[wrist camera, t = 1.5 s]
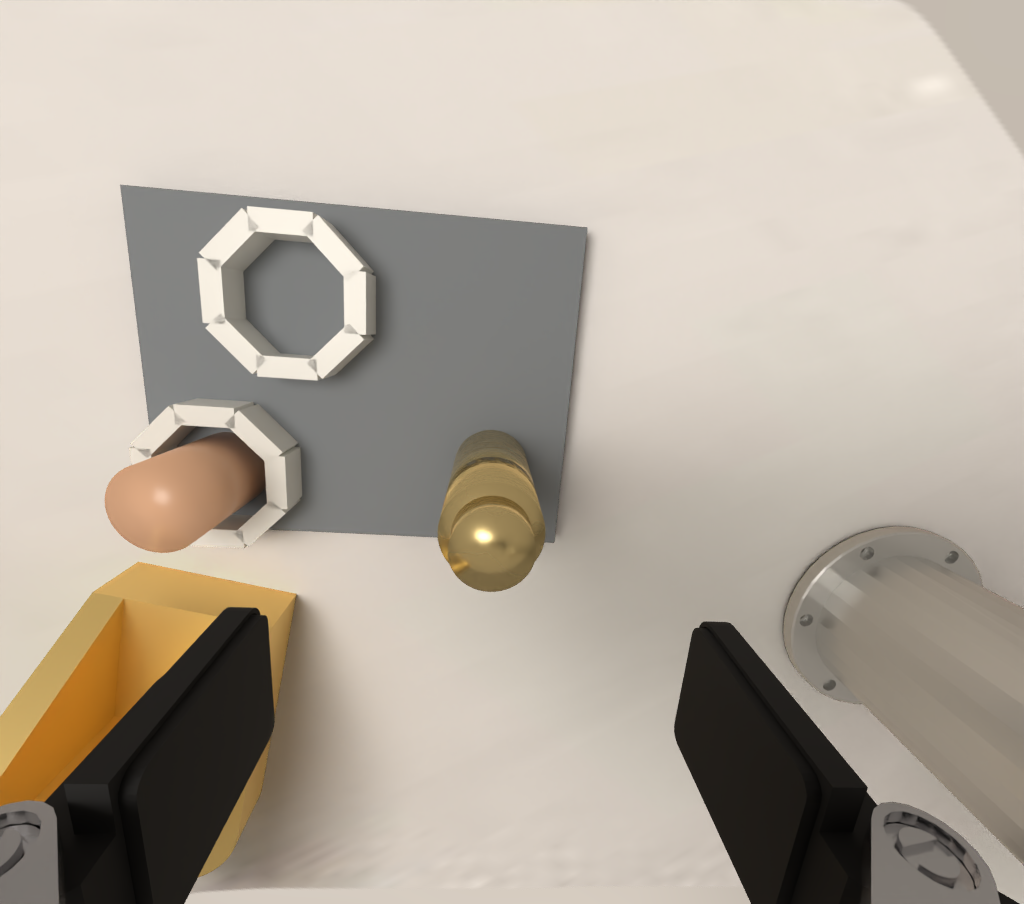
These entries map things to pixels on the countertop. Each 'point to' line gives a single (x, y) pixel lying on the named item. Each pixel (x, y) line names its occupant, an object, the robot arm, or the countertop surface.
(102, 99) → the countertop surface
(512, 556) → the gold rounded cylinder
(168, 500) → the joined fitting
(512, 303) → the mat
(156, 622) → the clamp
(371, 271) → the white octagonal ring
